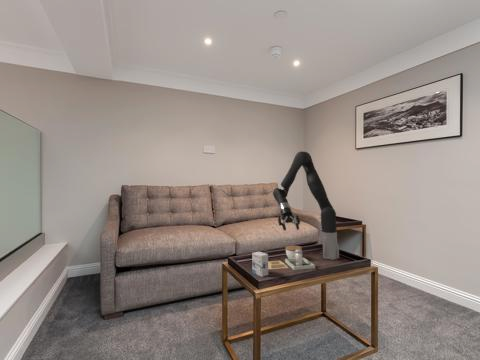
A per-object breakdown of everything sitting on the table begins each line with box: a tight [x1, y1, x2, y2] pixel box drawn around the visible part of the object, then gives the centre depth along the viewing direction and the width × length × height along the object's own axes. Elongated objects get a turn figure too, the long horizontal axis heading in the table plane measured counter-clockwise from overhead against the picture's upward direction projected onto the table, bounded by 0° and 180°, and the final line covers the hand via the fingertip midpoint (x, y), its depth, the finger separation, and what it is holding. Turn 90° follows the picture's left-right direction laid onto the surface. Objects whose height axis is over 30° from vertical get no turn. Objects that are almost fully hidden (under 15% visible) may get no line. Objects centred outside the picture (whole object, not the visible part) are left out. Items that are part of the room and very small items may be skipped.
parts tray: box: [284, 257, 316, 271], centre depth 150 cm, size 13×17×2 cm
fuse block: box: [268, 260, 289, 270], centre depth 150 cm, size 12×12×2 cm
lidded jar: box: [285, 244, 303, 259], centre depth 165 cm, size 11×11×9 cm
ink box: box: [251, 251, 269, 278], centre depth 137 cm, size 9×5×12 cm, turn 35°
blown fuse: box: [295, 249, 304, 266], centre depth 150 cm, size 4×4×9 cm
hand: (291, 229), depth 162 cm, fingers open, 8 cm apart
